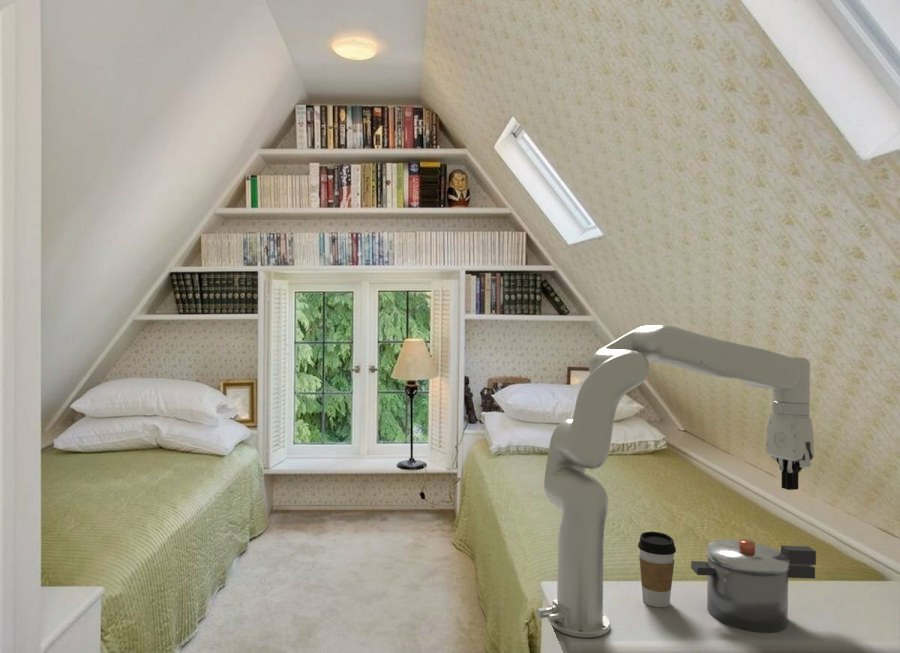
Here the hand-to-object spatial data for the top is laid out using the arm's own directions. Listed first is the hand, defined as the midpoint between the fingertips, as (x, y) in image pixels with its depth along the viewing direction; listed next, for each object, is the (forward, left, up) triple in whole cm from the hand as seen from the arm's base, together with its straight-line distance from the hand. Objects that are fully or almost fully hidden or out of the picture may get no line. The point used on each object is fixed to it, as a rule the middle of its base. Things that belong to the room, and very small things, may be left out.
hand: (789, 488), depth 139 cm
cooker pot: (-13, -1, -27) cm, 30 cm away
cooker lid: (-11, -2, -15) cm, 19 cm away
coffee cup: (-29, +11, -27) cm, 41 cm away
